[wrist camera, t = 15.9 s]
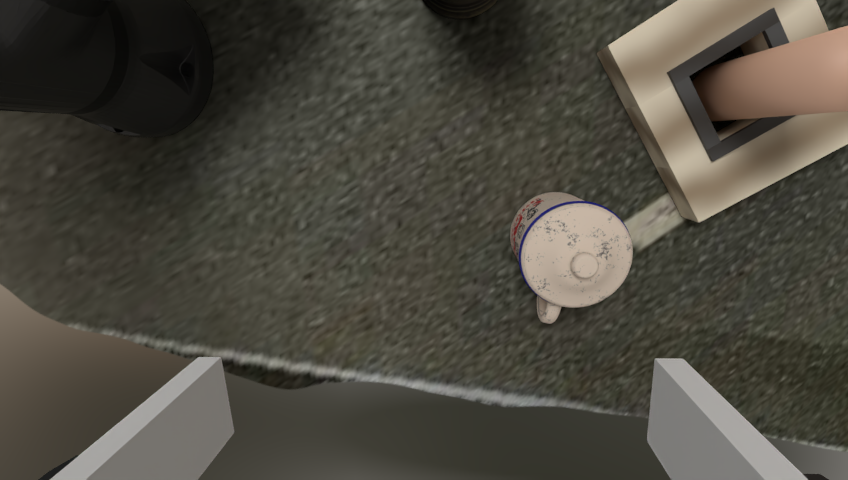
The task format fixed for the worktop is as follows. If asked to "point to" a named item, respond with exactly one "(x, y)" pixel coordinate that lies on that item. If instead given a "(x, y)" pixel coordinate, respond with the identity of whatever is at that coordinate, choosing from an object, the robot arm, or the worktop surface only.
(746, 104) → the peg
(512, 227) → the teacup with lid
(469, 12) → the container
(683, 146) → the band board
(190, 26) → the robot arm
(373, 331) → the worktop surface
